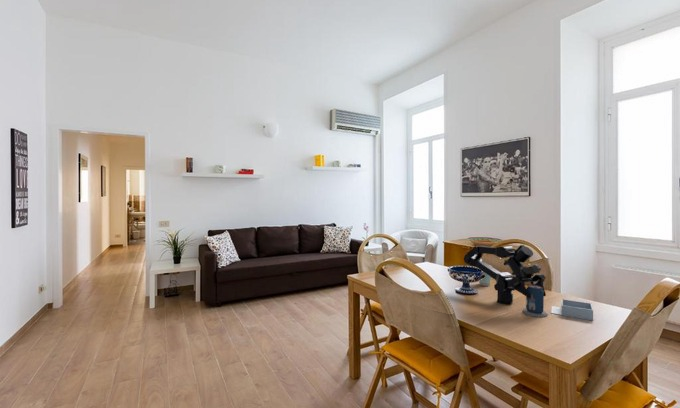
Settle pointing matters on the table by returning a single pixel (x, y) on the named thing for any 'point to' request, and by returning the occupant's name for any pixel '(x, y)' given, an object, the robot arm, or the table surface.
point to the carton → (574, 309)
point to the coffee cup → (485, 280)
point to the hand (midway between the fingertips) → (537, 296)
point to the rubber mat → (535, 314)
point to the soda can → (535, 299)
